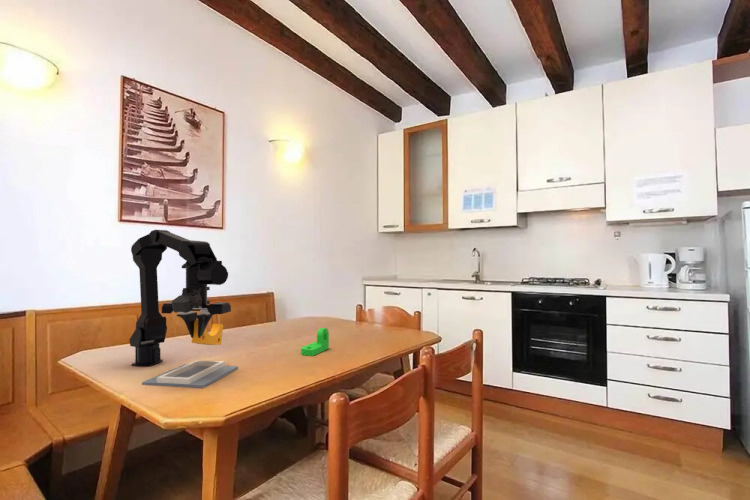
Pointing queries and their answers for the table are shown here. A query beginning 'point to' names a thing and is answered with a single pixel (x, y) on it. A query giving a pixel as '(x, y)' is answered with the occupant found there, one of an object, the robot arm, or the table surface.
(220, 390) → the table surface
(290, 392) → the table surface
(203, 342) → the pipe clamp
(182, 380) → the jig board
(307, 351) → the mechanical part
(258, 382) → the table surface
